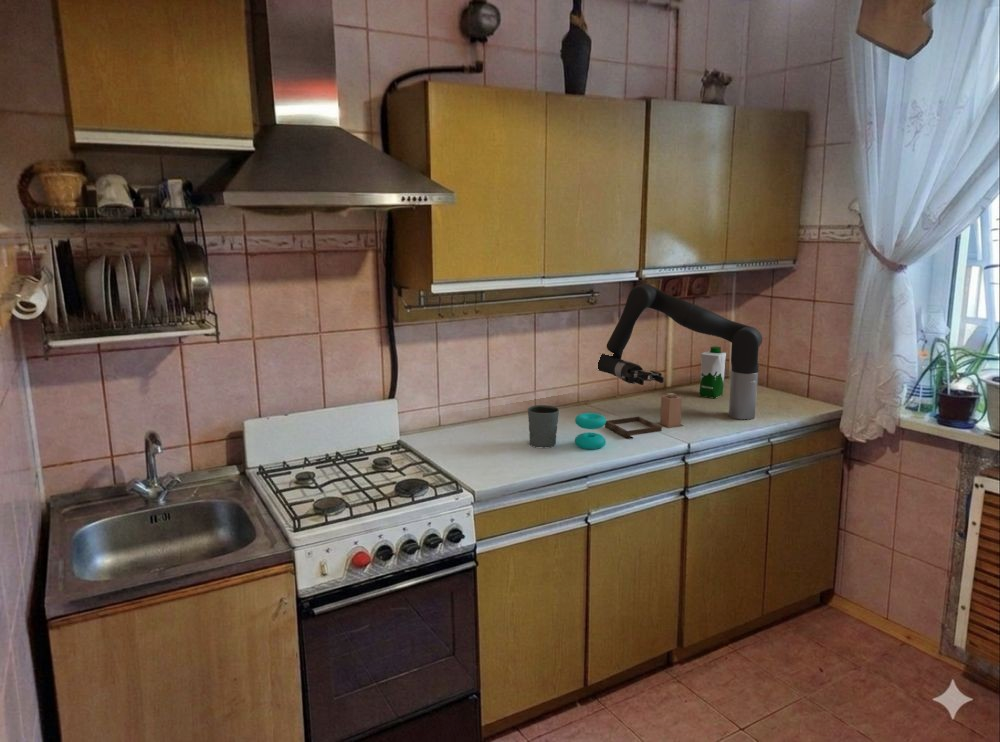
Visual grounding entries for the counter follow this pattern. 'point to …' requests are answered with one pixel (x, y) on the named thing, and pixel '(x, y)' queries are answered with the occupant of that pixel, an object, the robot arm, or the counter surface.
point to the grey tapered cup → (543, 425)
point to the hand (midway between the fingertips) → (652, 381)
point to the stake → (670, 395)
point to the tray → (627, 434)
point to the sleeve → (670, 411)
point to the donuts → (589, 438)
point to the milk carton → (712, 372)
